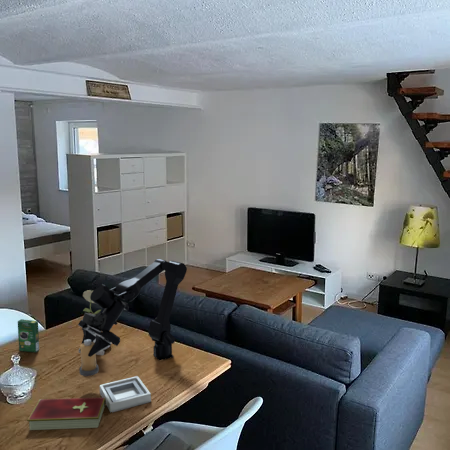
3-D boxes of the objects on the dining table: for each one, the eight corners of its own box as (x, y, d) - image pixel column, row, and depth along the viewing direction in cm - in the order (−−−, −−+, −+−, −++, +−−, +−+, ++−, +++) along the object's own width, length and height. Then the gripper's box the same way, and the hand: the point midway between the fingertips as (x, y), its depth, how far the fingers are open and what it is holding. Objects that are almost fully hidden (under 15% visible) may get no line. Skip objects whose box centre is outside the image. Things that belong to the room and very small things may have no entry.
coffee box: (40, 350, 196) (38, 320, 193) (36, 353, 193) (34, 322, 191) (23, 348, 197) (20, 318, 195) (18, 351, 194) (16, 321, 192)
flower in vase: (117, 346, 200) (115, 289, 195) (96, 356, 190) (94, 297, 186) (95, 339, 206) (93, 284, 202) (74, 348, 197) (71, 291, 193)
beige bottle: (96, 365, 169) (94, 335, 167) (100, 373, 164) (99, 342, 162) (77, 369, 166) (76, 339, 164) (81, 377, 161) (80, 346, 158)
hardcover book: (40, 409, 153) (39, 397, 152) (105, 407, 155) (105, 395, 154) (27, 432, 141) (27, 419, 141) (99, 429, 143) (98, 416, 142)
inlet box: (137, 383, 169) (137, 375, 168) (150, 401, 157) (150, 393, 157) (99, 393, 162) (99, 385, 162) (110, 412, 151) (110, 404, 150)
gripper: (81, 297, 170) (54, 335, 164) (111, 310, 157) (83, 351, 151) (101, 312, 177) (76, 349, 171) (131, 325, 164) (105, 366, 158)
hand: (84, 353), depth 163 cm, fingers closed on beige bottle, 5 cm apart
